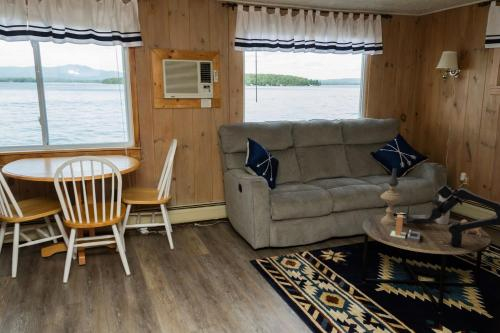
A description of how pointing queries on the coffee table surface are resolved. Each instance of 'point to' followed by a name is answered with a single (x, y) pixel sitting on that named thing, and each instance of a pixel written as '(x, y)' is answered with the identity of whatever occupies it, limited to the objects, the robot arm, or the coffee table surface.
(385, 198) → the wooden candle holder
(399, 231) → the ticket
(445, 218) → the thermos bottle
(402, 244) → the coffee table surface
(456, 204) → the robot arm
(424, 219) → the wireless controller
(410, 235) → the dispenser
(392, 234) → the mat
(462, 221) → the lion figurine
